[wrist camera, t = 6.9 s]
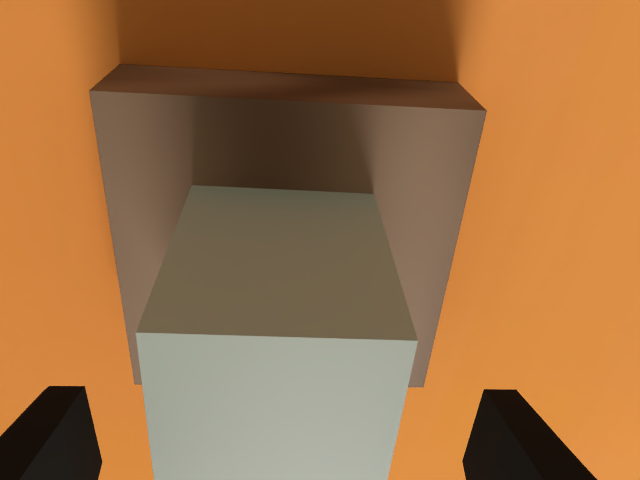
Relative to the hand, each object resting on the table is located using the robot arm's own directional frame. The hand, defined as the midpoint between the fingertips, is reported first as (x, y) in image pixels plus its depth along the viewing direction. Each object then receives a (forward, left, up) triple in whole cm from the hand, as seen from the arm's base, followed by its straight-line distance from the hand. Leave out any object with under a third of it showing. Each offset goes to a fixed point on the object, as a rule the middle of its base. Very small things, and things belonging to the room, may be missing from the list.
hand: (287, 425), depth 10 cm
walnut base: (0, 0, -8) cm, 8 cm away
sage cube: (0, 0, -5) cm, 5 cm away
